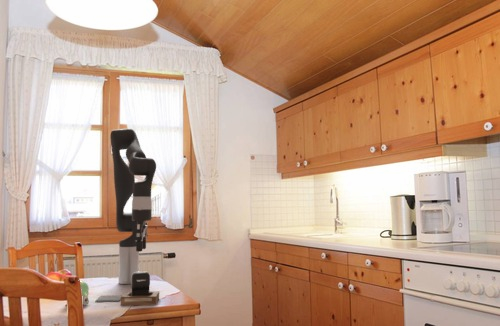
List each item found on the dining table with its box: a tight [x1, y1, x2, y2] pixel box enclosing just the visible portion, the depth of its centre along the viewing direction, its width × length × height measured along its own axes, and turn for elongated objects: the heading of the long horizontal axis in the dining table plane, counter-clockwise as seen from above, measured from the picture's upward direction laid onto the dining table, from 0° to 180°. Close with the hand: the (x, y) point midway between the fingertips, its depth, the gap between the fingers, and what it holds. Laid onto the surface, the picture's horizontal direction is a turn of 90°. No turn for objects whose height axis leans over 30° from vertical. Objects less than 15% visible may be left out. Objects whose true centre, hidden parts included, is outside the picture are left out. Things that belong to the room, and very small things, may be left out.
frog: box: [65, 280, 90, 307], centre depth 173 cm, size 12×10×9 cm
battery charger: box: [130, 270, 151, 296], centre depth 176 cm, size 7×4×11 cm, turn 111°
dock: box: [120, 290, 160, 306], centre depth 176 cm, size 10×13×3 cm
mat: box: [94, 294, 123, 303], centre depth 181 cm, size 9×9×1 cm
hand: (141, 250), depth 177 cm, fingers open, 8 cm apart
